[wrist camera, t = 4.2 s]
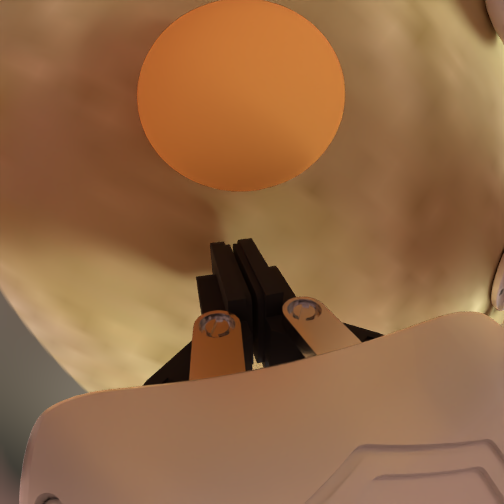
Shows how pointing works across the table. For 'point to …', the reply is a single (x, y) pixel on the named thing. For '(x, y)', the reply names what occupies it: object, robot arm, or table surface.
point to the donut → (496, 15)
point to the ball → (241, 95)
